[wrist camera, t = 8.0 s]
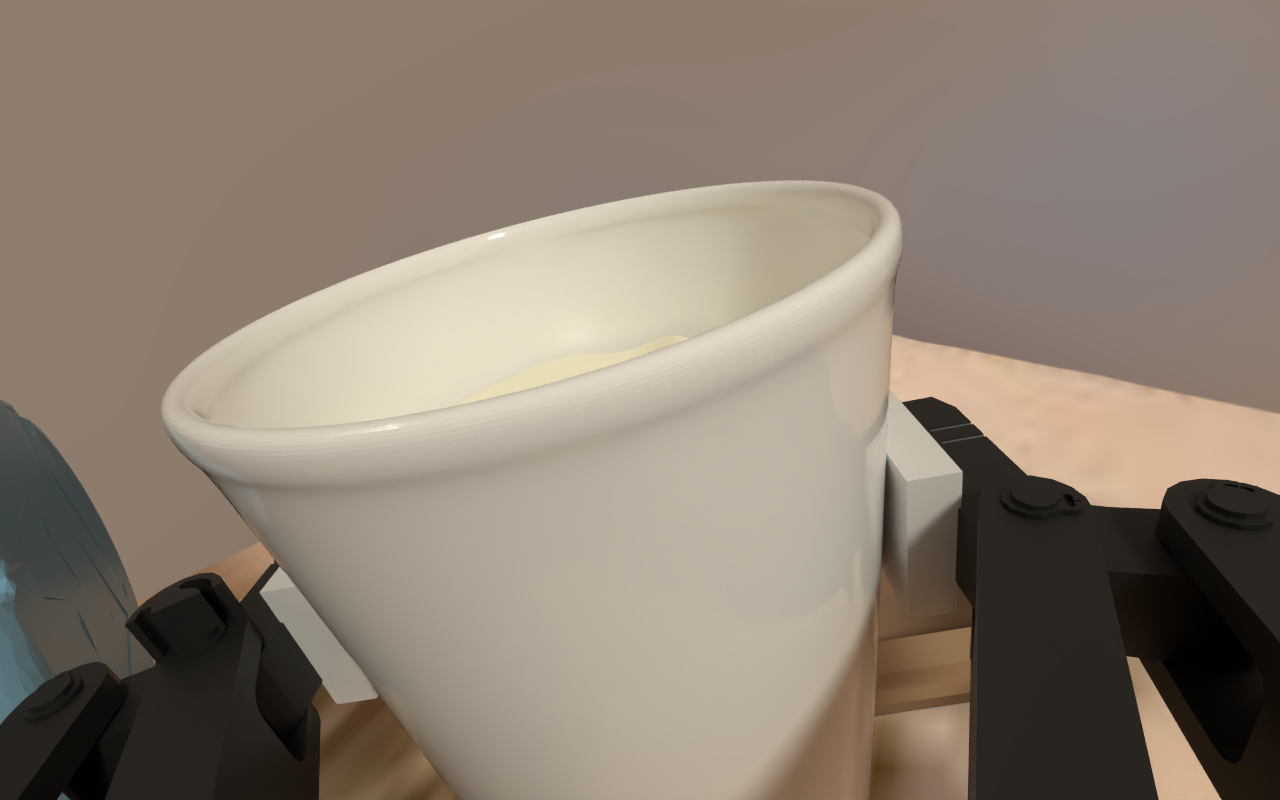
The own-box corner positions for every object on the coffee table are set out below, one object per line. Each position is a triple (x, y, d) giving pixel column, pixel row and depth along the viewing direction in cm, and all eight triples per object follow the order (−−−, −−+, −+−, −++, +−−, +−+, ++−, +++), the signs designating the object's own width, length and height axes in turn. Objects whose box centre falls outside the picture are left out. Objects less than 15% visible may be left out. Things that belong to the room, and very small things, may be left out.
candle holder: (679, 550, 20) (594, 194, 15) (990, 724, 13) (1040, 155, 8) (416, 774, 15) (138, 345, 10) (695, 1269, 8) (210, 667, 2)
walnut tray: (663, 747, 25) (651, 709, 24) (650, 499, 41) (642, 469, 40) (1092, 683, 24) (1101, 640, 23) (905, 451, 40) (905, 419, 39)
